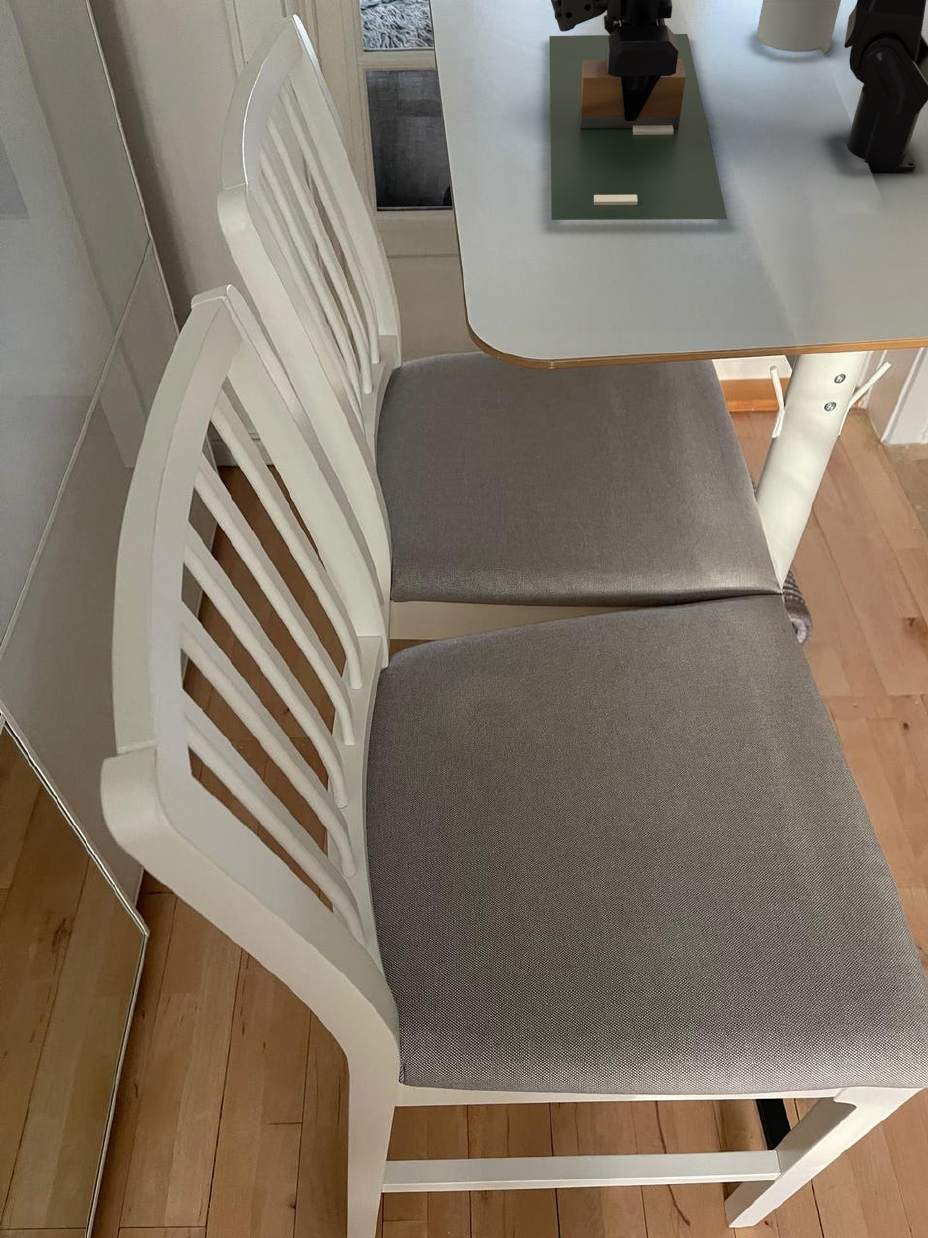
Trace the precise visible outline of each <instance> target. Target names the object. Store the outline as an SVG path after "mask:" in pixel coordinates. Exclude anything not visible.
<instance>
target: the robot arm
mask: <svg viewBox="0 0 928 1238" xmlns="http://www.w3.org/2000/svg"><path fill="white" fill-rule="evenodd" d="M672 1H673V0H550V2H551V6H552V9H553V13H554V19H555V20H556V22H557V25H558V29H559V31H560V32H569V31H571V30H574V29H575V27H576V26H578V25H580V24H582V23H585V22H588V21H590V20H593V19H595V18H598V17H600V16H602V15H603V14H605V13H606V14H605V15H604V16H603V27H604V30H605V31H606V32H607V33H608V35H610V36H609V37H608V45H607V50H606V55H607V71H608V74H609V75H611V76H614V77H621V82H622V93H623V104H624V115H625V121H636V120H637V118H638V116H639V114H640V112H641V110H642V109H643V107H644V105H645V103H646V101H647V100H648V98H649V96H650V94H651V92H652V91H653V89H654V87H655V85H656V84H657V82H658V80H659V79H660V77H661V76H671V75H673V74H675V73H676V67H677V59H678V46H677V41H676V36H675V35H674V34H675V33H674V32H673V31H672V29H670V27H669V26H668V25H666V20H665V19H672V14H673V3H672ZM926 6H927V0H856V3H855V6H854V8H853V10H851V13H850V14H849V15H848V20H847V26H846V31H845V32H846V33H845V39H844V45H843V47H844V48H845V49H849V48H850V53H849V69H850V71H851V72H852V73H853V76H854V77H855V78H856V79H857V81H859V82H861V83H862V84H863V85H862V87H861V90H860V94H859V97H858V101H857V104H856V108H855V112H854V115H853V119H852V123H851V128H850V129H849V133H848V134H849V135H848V138H847V140H846V141H847V142H846V148H847V150H848V151H849V152H850V153H851V154H852V155H854V156H856V157H858V158H860V159H862V160H863V161H864V163H865V164H867V166H868V168H869V171H870V172H873V173H875V172H877V173H878V172H879V173H880V172H914V171H915V170H916V166H917V165H916V164H917V163H916V162H915V159H914V157H913V155H912V153H911V151H910V148H909V147H910V143H911V140H912V137H913V134H914V131H915V128H916V125H917V122H918V120H919V116H920V112H921V111H922V109H923V108H924V106H925V105H926V103H928V41H926V39H925V37H924V35H923V34H922V32H923V27H924V20H925V19H924V18H925V12H926Z"/></svg>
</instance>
